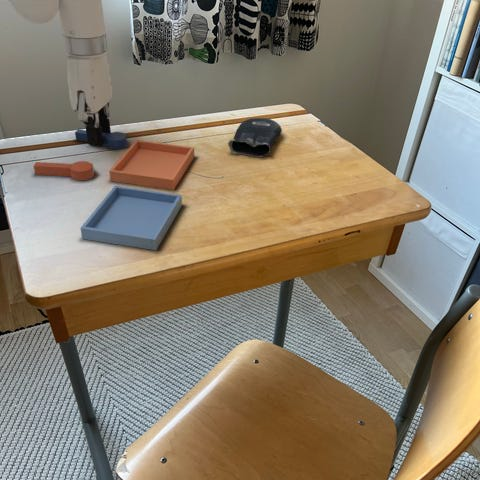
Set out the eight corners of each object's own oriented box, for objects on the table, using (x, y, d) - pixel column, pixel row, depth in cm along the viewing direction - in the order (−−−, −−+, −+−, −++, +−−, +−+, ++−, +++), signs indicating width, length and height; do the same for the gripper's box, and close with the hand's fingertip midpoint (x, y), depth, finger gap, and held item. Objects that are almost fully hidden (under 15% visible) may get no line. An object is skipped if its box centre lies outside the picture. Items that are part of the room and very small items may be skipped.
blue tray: (82, 238, 81) (80, 228, 80) (116, 195, 91) (114, 185, 90) (156, 250, 79) (155, 239, 78) (182, 205, 90) (181, 194, 88)
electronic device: (273, 165, 106) (284, 127, 115) (271, 140, 101) (283, 103, 111) (229, 164, 108) (244, 127, 117) (226, 140, 104) (241, 104, 113)
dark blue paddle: (73, 143, 106) (71, 134, 105) (82, 135, 109) (80, 126, 108) (122, 149, 105) (122, 141, 104) (130, 141, 108) (129, 133, 107)
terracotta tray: (110, 180, 95) (109, 170, 94) (137, 149, 105) (136, 139, 104) (173, 189, 94) (173, 179, 92) (194, 156, 104) (194, 147, 103)
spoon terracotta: (33, 178, 95) (30, 168, 93) (40, 167, 98) (38, 158, 97) (91, 181, 95) (89, 172, 94) (96, 170, 98) (95, 161, 97)
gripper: (85, 31, 101) (99, 123, 113) (45, 54, 89) (65, 155, 101) (121, 35, 100) (131, 128, 112) (86, 59, 88) (101, 160, 100)
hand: (100, 140), depth 107 cm, fingers open, 3 cm apart
